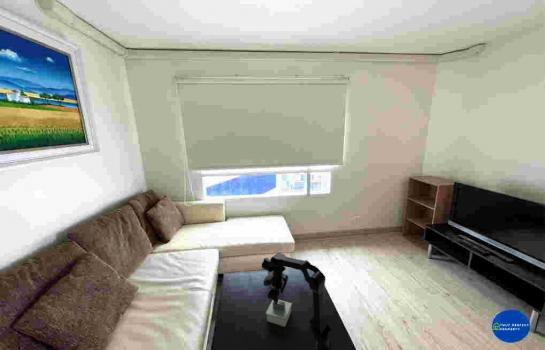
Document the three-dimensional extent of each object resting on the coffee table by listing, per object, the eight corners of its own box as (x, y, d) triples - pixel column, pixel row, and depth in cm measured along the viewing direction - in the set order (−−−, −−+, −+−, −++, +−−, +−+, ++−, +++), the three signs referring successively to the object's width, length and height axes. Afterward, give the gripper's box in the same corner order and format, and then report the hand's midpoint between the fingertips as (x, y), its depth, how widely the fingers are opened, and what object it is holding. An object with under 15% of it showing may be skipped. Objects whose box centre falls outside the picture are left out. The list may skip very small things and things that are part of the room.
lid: (285, 322, 119) (285, 313, 118) (265, 315, 123) (265, 307, 122) (291, 305, 130) (291, 297, 128) (273, 300, 134) (273, 292, 133)
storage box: (285, 327, 120) (284, 319, 119) (267, 321, 124) (266, 313, 123) (290, 311, 130) (290, 304, 129) (274, 306, 134) (274, 300, 133)
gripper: (271, 262, 133) (272, 284, 136) (258, 282, 116) (259, 306, 119) (288, 266, 129) (288, 289, 132) (276, 287, 112) (278, 312, 115)
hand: (278, 298), depth 125 cm, fingers open, 9 cm apart
